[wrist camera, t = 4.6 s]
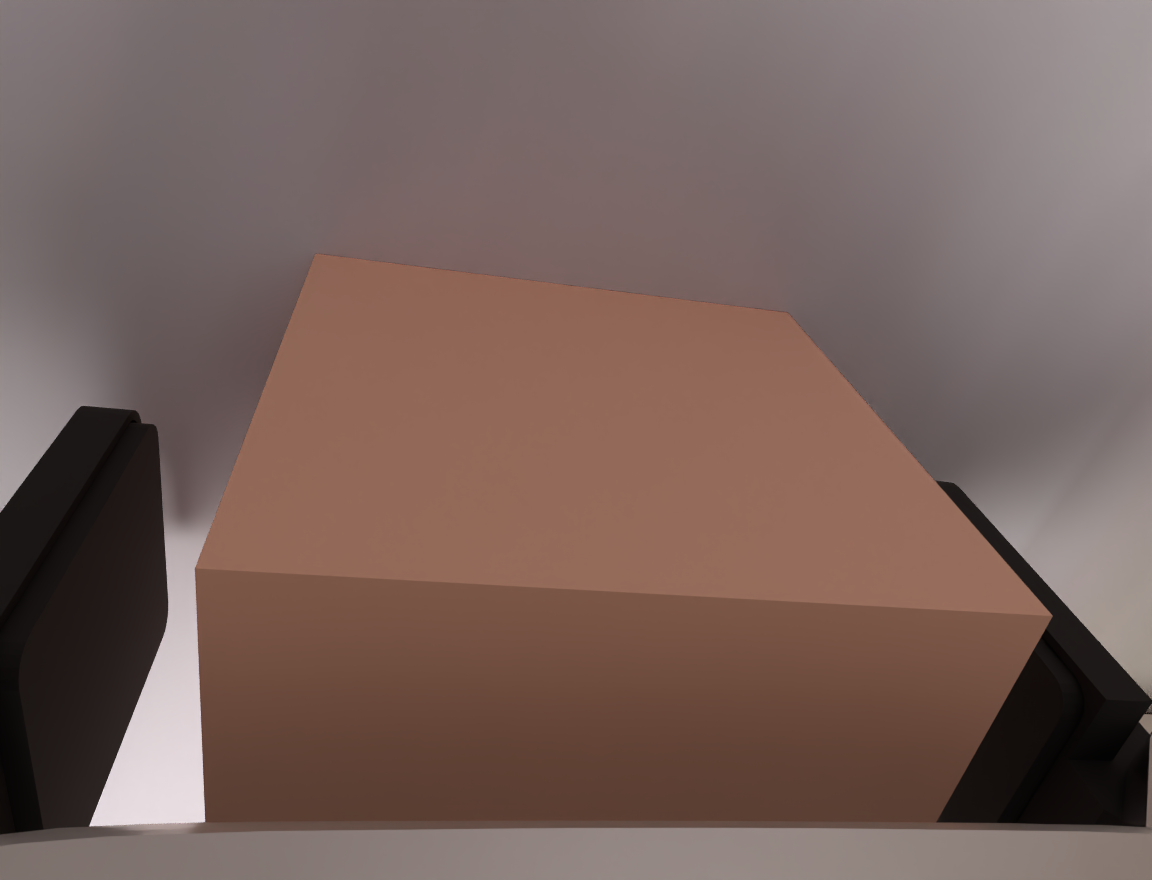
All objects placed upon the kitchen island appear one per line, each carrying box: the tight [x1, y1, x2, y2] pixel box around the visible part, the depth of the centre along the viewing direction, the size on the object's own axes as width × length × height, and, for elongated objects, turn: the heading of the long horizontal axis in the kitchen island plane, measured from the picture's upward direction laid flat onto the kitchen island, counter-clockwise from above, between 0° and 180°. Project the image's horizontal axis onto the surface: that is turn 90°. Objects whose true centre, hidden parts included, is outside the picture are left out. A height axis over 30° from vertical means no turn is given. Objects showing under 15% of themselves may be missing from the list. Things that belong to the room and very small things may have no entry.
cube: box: [195, 254, 1053, 823], centre depth 10 cm, size 6×6×6 cm
